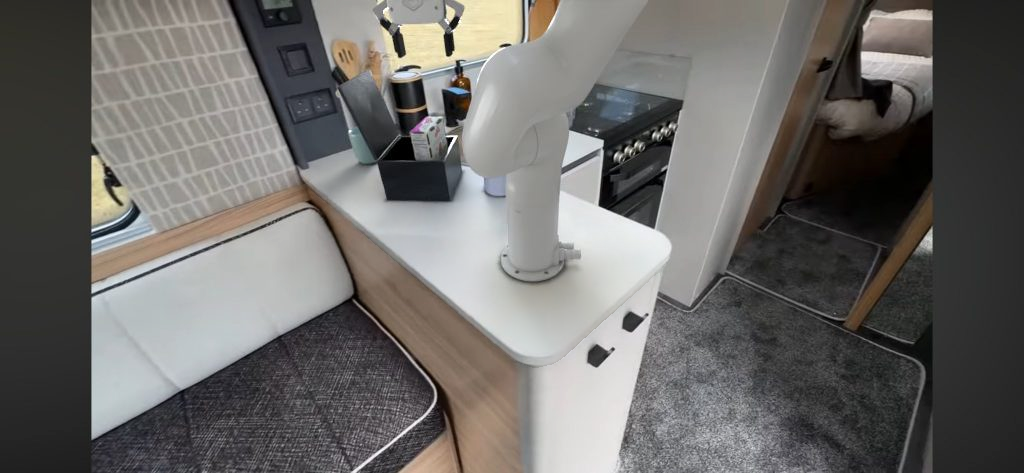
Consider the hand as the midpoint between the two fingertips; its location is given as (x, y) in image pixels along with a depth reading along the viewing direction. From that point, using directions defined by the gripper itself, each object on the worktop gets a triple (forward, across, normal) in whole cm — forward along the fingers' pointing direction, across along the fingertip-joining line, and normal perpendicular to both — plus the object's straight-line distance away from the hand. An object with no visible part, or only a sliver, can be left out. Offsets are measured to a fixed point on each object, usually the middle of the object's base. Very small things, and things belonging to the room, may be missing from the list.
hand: (425, 56), depth 74 cm
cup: (+34, -30, +24) cm, 51 cm away
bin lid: (+14, -18, +9) cm, 25 cm away
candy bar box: (+33, -5, +9) cm, 35 cm away
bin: (+34, -8, +9) cm, 36 cm away
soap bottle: (+34, +12, +7) cm, 37 cm away
